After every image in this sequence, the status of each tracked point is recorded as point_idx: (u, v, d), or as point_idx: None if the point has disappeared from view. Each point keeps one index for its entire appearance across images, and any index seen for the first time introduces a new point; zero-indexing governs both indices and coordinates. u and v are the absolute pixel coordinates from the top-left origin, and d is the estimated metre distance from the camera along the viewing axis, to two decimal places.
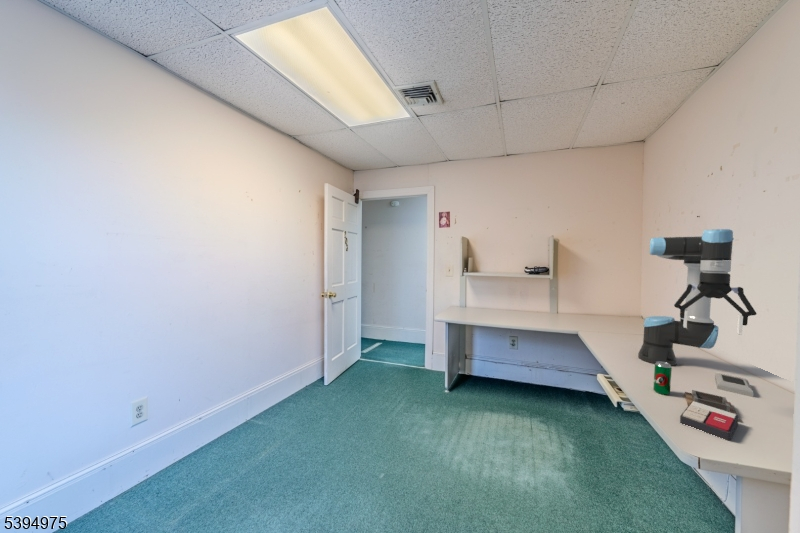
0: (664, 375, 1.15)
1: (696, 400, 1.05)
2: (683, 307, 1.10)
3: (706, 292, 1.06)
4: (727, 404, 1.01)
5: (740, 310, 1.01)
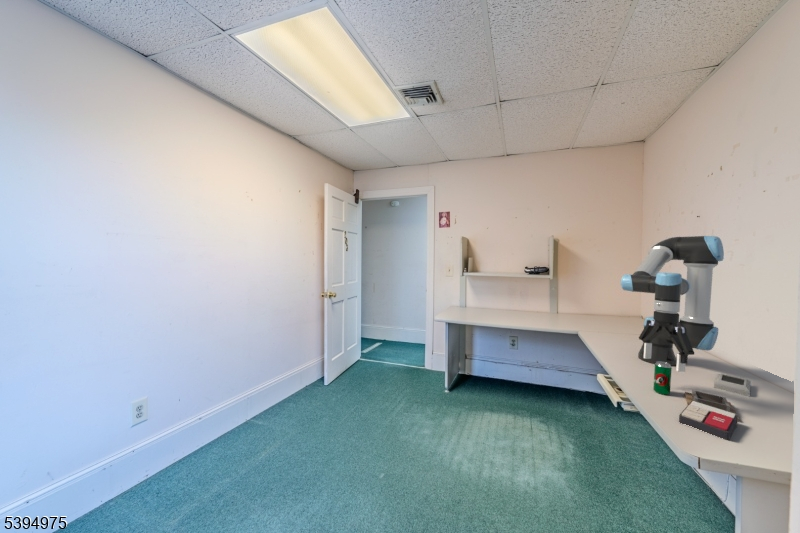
0: (664, 375, 1.15)
1: (696, 400, 1.05)
2: (643, 340, 1.24)
3: (656, 328, 1.18)
4: (727, 404, 1.01)
5: (678, 348, 1.09)
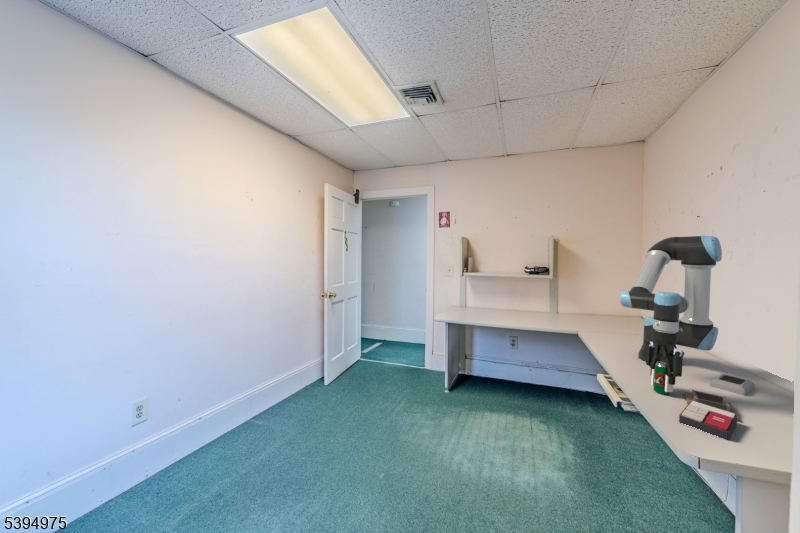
0: (664, 375, 1.15)
1: (696, 400, 1.05)
2: (651, 366, 1.20)
3: (656, 348, 1.18)
4: (727, 404, 1.01)
5: (668, 369, 1.13)
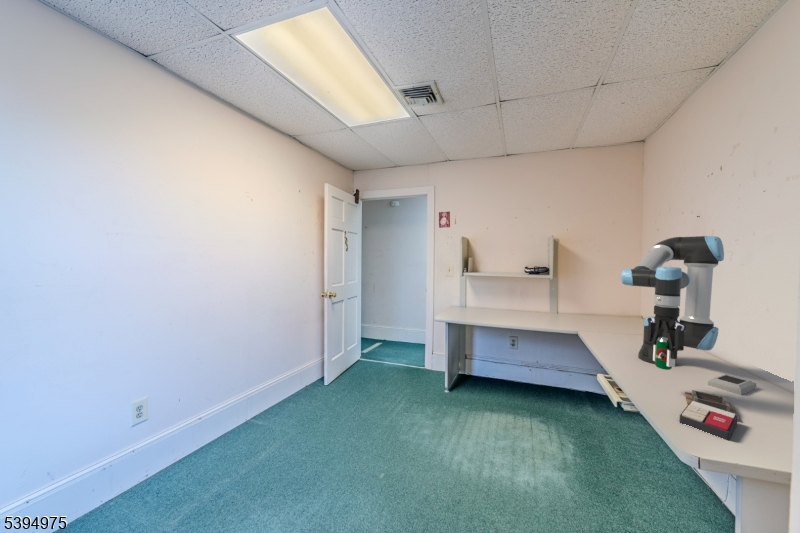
0: (665, 350, 1.14)
1: (696, 400, 1.05)
2: (652, 341, 1.20)
3: (657, 323, 1.17)
4: (727, 404, 1.01)
5: (670, 344, 1.13)
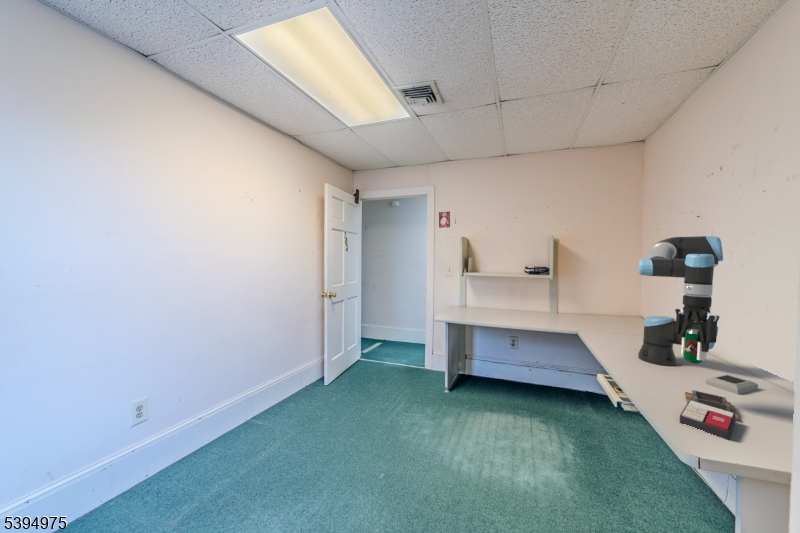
0: (695, 343, 1.07)
1: (696, 400, 1.05)
2: (680, 334, 1.13)
3: (687, 314, 1.10)
4: (727, 404, 1.01)
5: (701, 336, 1.06)
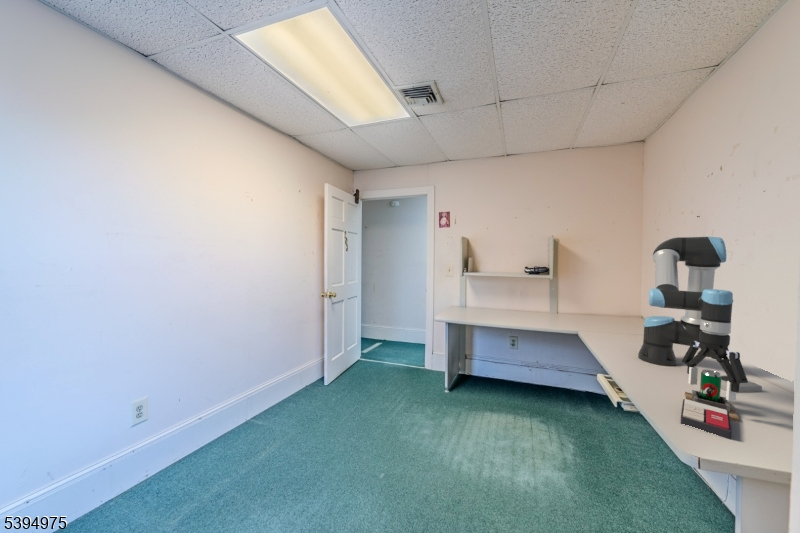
0: (713, 386, 1.04)
1: (696, 400, 1.05)
2: (688, 363, 1.13)
3: (703, 351, 1.07)
4: (727, 404, 1.01)
5: (728, 375, 1.00)
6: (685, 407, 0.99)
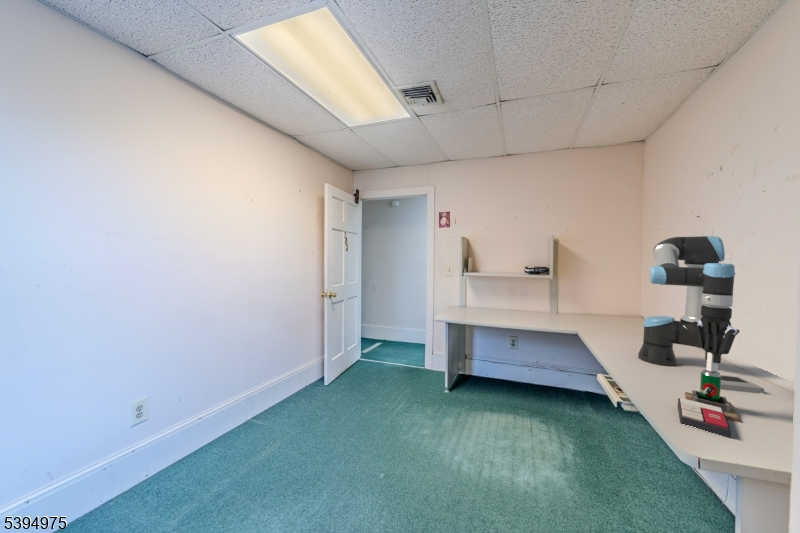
0: (713, 385, 1.04)
1: (696, 400, 1.05)
2: (705, 348, 1.07)
3: (706, 326, 1.06)
4: (727, 404, 1.01)
5: (714, 347, 1.04)
6: (682, 406, 0.99)
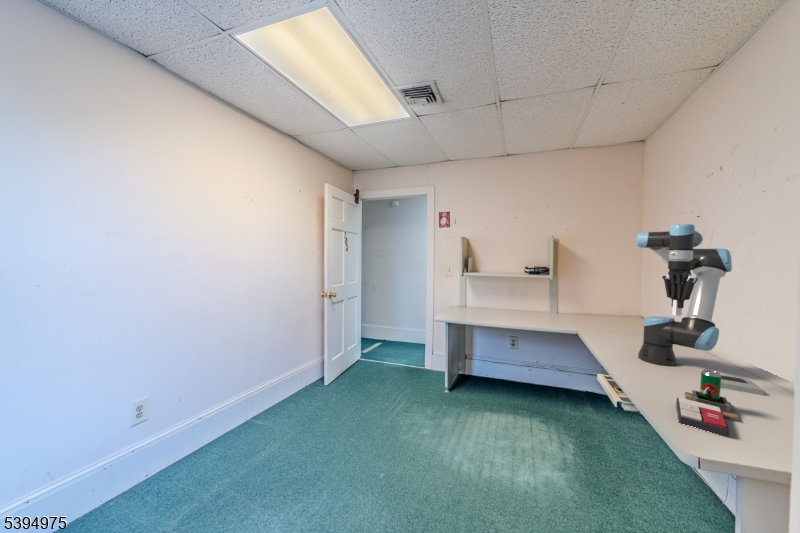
0: (713, 386, 1.04)
1: (696, 400, 1.05)
2: (671, 297, 1.27)
3: (672, 277, 1.26)
4: (727, 404, 1.01)
5: (678, 295, 1.24)
6: (681, 406, 1.00)
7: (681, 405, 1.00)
